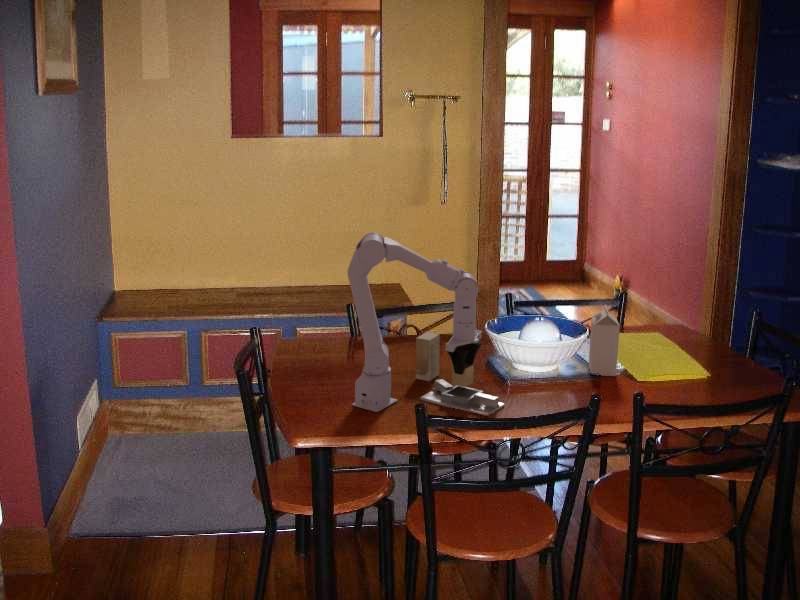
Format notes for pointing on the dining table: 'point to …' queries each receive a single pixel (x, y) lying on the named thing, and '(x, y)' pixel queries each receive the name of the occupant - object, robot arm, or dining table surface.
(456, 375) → the block
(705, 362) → the dining table surface
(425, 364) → the skincare box
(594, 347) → the milk carton
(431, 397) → the coupling bench
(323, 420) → the dining table surface
